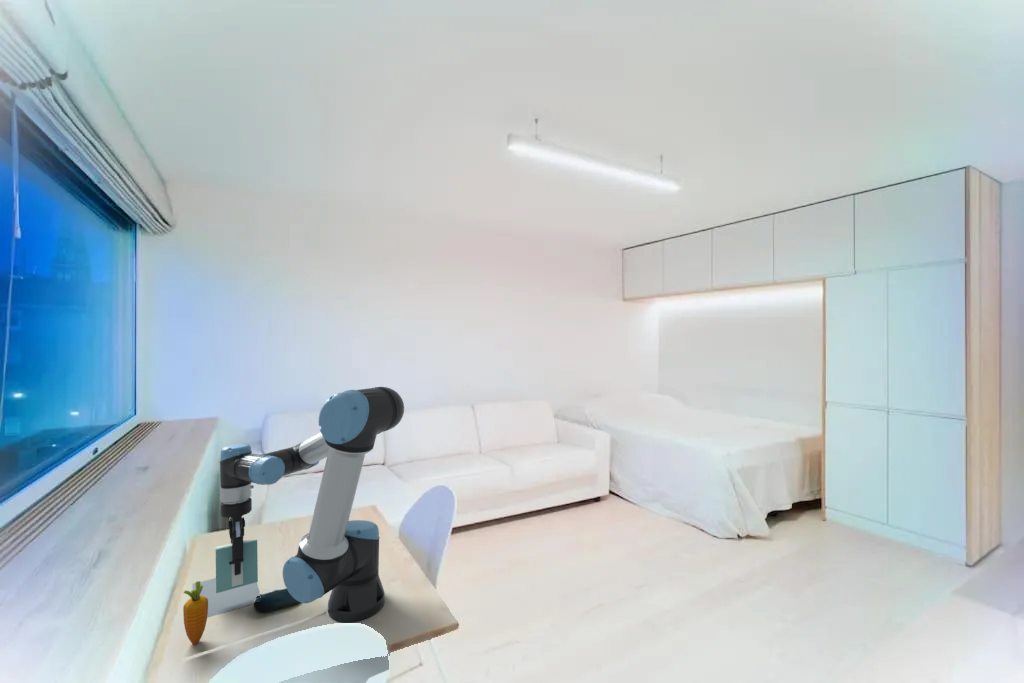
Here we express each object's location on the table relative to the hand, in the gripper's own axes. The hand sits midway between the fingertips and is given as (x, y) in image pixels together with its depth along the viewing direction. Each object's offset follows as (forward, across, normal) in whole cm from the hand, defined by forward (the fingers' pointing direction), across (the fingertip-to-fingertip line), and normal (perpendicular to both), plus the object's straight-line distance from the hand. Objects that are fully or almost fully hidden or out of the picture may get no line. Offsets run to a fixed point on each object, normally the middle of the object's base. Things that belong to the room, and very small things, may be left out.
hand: (237, 582), depth 126 cm
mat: (+5, +7, +2) cm, 9 cm away
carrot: (+6, -15, +10) cm, 19 cm away
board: (+1, 0, 0) cm, 1 cm away
